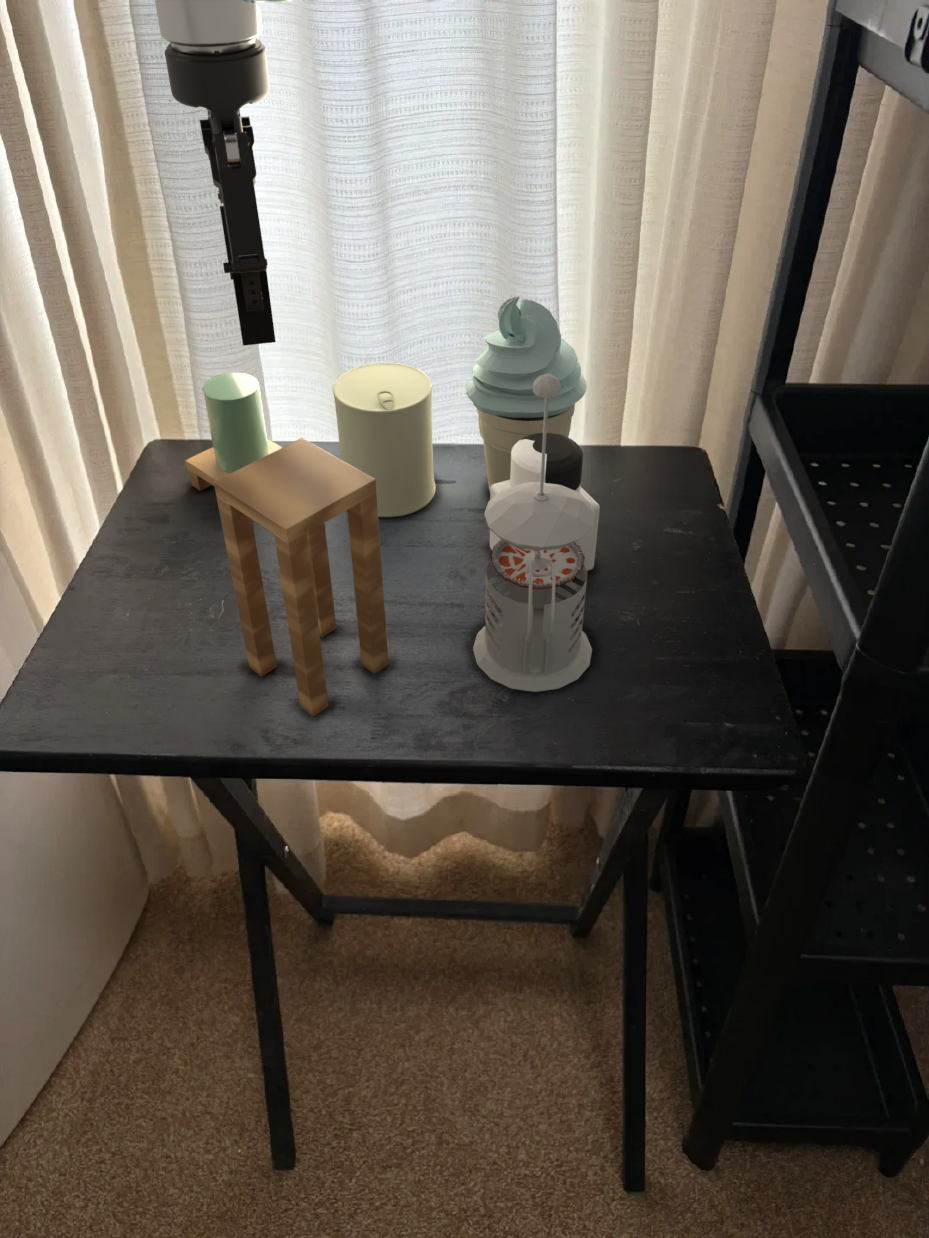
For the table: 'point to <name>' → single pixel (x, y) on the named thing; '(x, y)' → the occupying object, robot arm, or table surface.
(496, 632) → the french press
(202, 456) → the stand
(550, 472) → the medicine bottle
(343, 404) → the can
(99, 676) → the table surface
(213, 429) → the green cylinder
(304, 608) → the front shelf
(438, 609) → the table surface
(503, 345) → the ice cream cone
